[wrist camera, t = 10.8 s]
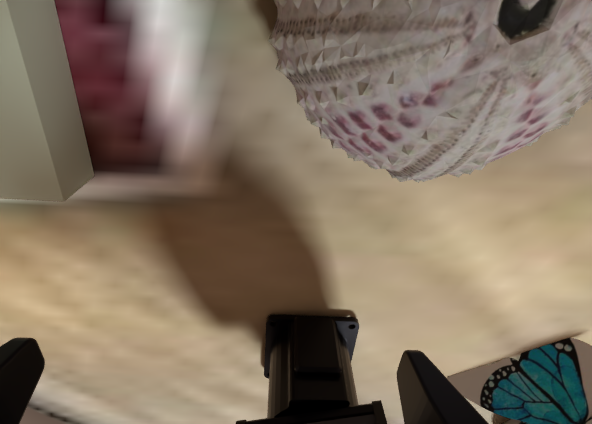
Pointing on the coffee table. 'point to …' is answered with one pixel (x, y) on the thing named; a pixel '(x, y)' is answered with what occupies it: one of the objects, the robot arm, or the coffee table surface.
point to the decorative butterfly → (535, 385)
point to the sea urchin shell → (435, 76)
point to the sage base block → (38, 107)
